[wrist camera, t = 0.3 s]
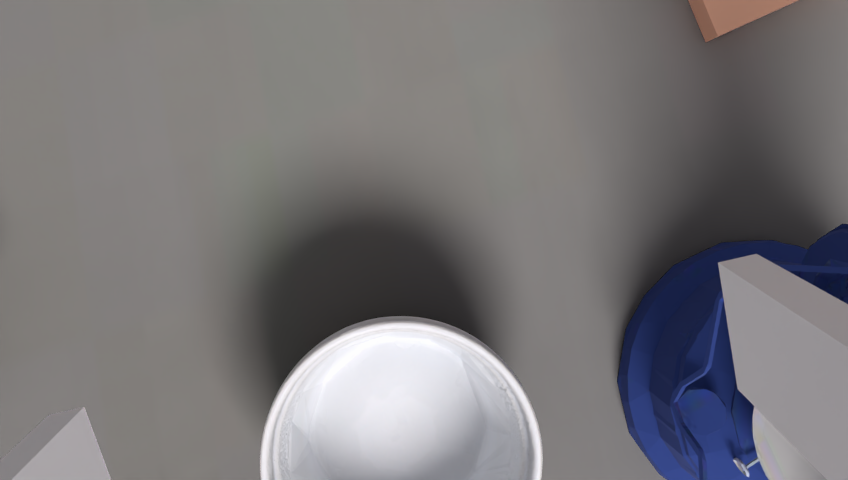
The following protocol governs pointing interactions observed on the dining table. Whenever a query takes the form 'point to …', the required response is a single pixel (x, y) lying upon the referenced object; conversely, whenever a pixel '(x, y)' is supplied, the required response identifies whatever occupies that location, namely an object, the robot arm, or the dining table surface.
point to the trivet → (731, 14)
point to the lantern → (711, 368)
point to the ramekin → (401, 409)
